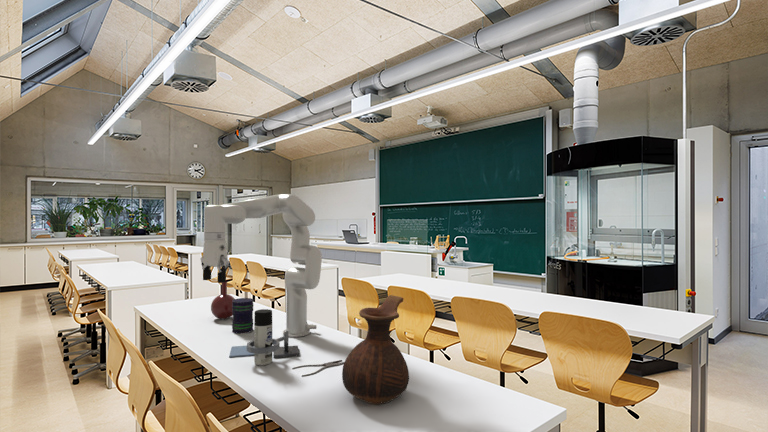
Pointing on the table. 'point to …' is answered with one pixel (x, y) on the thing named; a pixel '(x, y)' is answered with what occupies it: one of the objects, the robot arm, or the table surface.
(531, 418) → the table surface
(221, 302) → the round-bottom flask
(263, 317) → the spray can
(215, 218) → the robot arm
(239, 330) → the storage jar
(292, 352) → the ring stand
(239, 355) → the mat
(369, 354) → the jug
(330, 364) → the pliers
